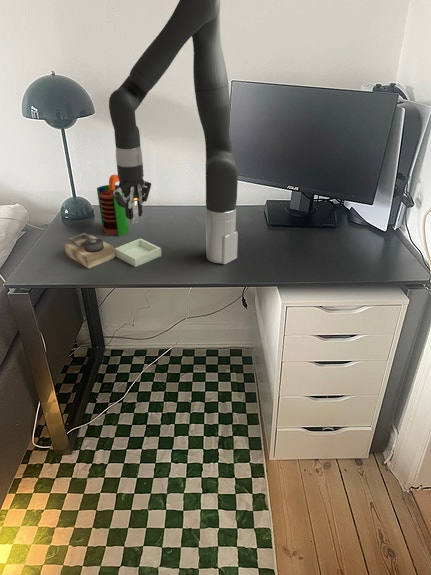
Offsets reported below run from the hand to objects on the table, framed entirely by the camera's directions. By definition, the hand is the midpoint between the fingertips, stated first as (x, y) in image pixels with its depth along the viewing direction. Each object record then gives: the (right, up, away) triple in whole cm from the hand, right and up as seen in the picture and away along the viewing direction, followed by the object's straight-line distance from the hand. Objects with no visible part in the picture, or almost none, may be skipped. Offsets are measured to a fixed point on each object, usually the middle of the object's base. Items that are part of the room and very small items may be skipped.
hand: (134, 217), depth 141 cm
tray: (0, -12, +7) cm, 14 cm away
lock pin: (0, -1, +1) cm, 2 cm away
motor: (-11, -1, +24) cm, 27 cm away
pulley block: (-16, -12, +7) cm, 21 cm away
